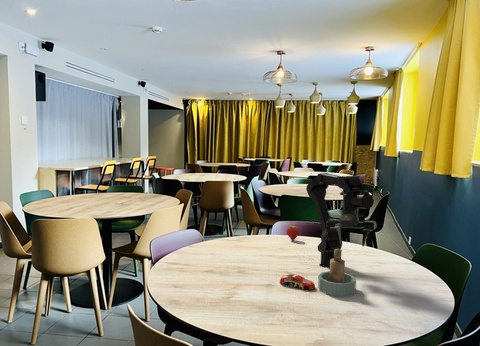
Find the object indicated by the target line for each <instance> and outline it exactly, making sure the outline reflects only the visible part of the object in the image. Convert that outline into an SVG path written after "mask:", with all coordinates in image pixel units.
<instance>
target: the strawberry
mask: <svg viewBox="0 0 480 346" xmlns="http://www.w3.org/2000/svg"><path fill="white" fill-rule="evenodd" d="M286 234H287V236H288V237H289V239H290V240H291V241H292V242H294V241H295V240H296V239H297V238H298V236H299V234H300V230H299V228H298V226H295V225H290V226H288V227H287V228H286Z"/></svg>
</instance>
